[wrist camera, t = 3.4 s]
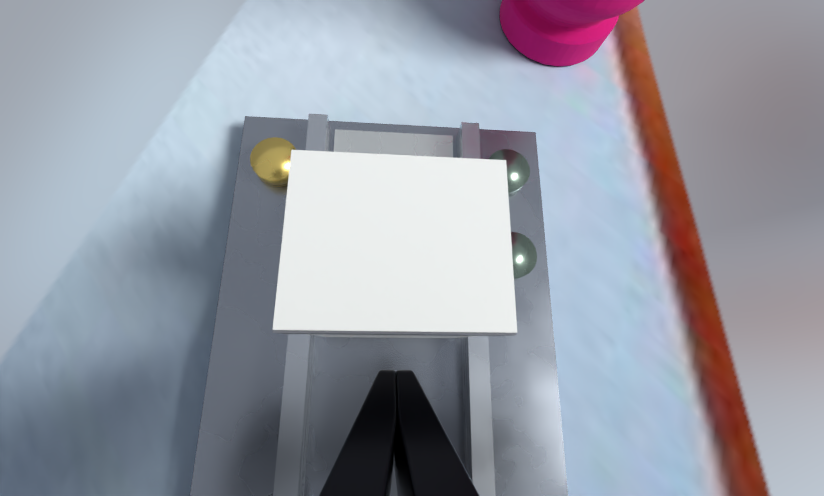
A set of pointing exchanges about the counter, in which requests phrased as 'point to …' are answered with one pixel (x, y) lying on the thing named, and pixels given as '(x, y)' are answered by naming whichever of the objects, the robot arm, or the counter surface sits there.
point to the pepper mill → (560, 27)
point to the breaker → (395, 247)
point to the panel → (364, 357)
